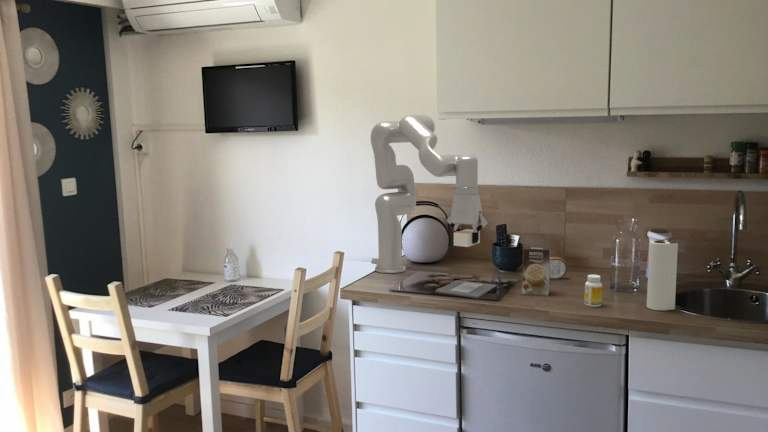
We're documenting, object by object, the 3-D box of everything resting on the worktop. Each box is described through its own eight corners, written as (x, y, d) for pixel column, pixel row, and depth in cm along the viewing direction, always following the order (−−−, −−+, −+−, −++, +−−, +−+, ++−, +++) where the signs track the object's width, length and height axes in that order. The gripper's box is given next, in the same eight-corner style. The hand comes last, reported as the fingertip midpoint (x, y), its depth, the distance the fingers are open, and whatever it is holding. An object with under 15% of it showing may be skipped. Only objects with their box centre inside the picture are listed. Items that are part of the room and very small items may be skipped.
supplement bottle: (581, 305, 210) (582, 276, 208) (588, 301, 213) (589, 273, 212) (597, 308, 206) (598, 278, 205) (604, 304, 210) (605, 275, 208)
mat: (435, 292, 228) (435, 290, 228) (456, 281, 243) (456, 279, 243) (477, 298, 220) (477, 295, 220) (497, 286, 235) (497, 284, 235)
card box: (466, 241, 235) (466, 228, 234) (479, 242, 231) (479, 229, 231) (453, 245, 227) (453, 232, 227) (467, 246, 224) (467, 233, 223)
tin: (566, 278, 247) (566, 256, 245) (567, 280, 243) (568, 258, 242) (525, 277, 248) (526, 256, 247) (526, 279, 245) (527, 257, 244)
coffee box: (521, 294, 224) (522, 248, 222) (522, 289, 230) (523, 245, 228) (548, 296, 221) (549, 249, 219) (549, 291, 227) (550, 246, 225)
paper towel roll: (642, 307, 206) (645, 241, 203) (654, 304, 209) (657, 239, 206) (662, 313, 199) (665, 244, 196) (674, 309, 203) (678, 242, 200)
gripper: (439, 191, 228) (440, 242, 230) (485, 193, 219) (485, 246, 222) (449, 189, 234) (449, 238, 237) (493, 191, 225) (493, 242, 228)
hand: (466, 241), depth 229 cm, fingers closed on card box, 5 cm apart
